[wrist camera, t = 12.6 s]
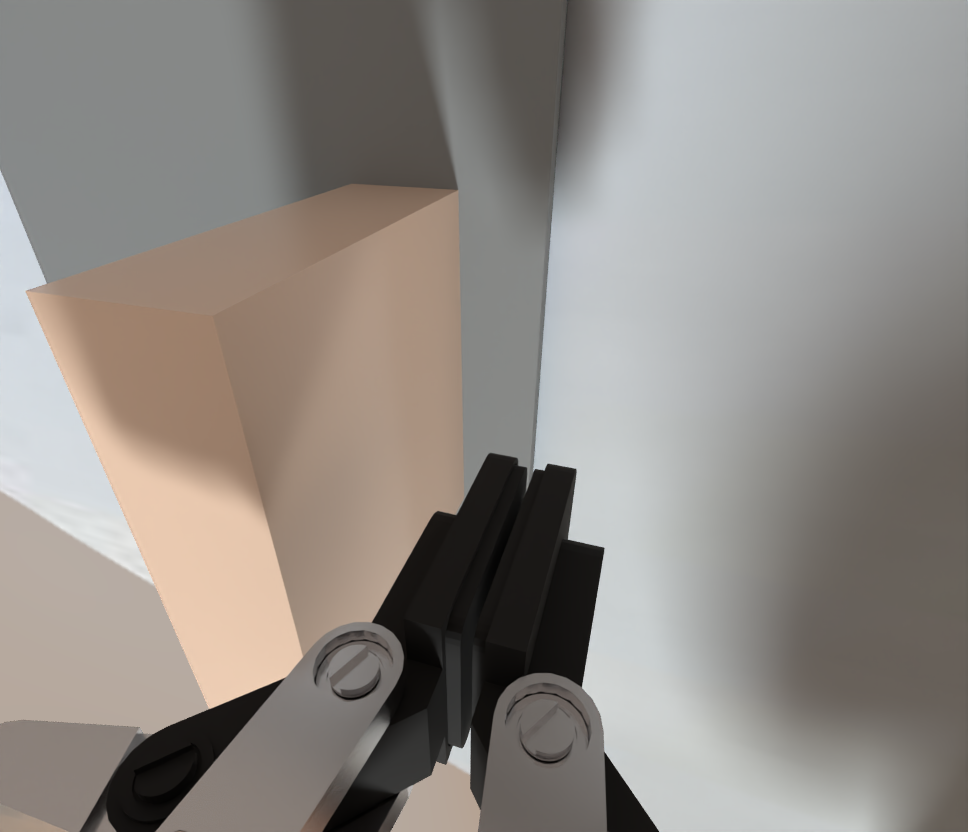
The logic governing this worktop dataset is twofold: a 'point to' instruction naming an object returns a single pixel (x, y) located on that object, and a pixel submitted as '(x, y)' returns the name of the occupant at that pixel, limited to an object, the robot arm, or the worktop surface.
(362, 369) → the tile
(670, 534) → the worktop surface
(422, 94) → the mat
